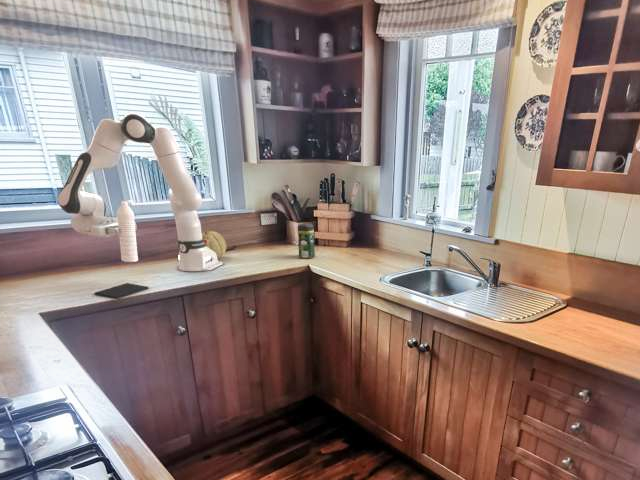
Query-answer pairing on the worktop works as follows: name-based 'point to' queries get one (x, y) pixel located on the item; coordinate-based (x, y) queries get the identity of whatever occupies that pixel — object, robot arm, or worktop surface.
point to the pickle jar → (306, 240)
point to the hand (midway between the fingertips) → (126, 229)
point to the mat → (121, 290)
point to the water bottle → (127, 232)
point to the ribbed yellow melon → (215, 242)
